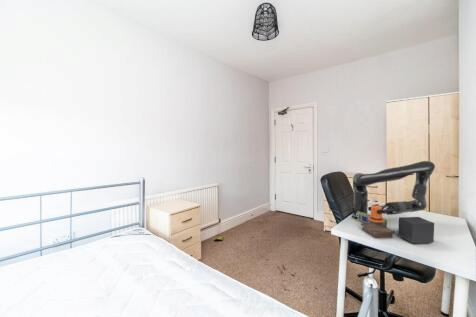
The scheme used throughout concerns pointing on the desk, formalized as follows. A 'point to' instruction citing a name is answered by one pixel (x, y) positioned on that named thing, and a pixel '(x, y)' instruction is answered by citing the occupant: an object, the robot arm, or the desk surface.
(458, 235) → the desk surface
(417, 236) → the dark grey cube pedestal
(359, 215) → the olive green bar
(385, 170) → the robot arm
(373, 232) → the stand
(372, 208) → the hat
